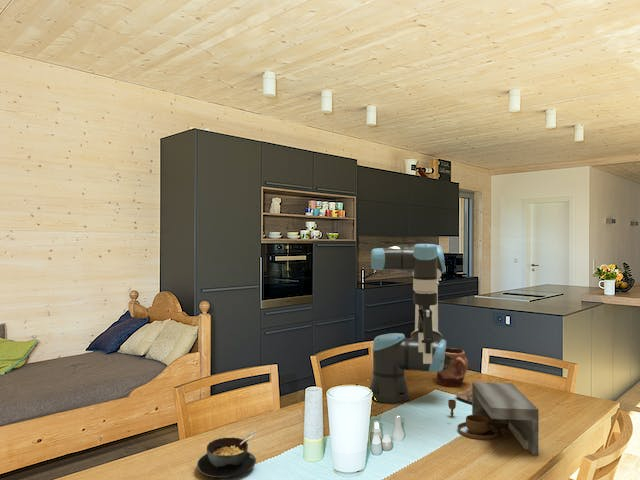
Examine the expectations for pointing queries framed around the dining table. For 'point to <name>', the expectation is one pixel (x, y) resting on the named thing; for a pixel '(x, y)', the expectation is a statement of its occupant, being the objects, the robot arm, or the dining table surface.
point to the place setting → (475, 425)
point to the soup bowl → (227, 457)
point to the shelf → (508, 411)
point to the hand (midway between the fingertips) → (424, 357)
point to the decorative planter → (453, 368)
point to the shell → (466, 396)
